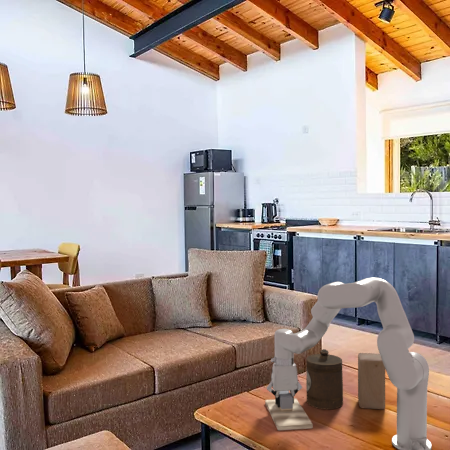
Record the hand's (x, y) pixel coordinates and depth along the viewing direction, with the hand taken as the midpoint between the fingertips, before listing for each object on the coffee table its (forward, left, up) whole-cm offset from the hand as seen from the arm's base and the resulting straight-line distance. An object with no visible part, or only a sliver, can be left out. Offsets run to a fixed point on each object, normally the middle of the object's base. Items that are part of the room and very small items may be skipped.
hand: (284, 405), depth 199 cm
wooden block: (0, -36, -2) cm, 36 cm away
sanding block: (0, 0, 0) cm, 0 cm away
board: (-5, 0, -2) cm, 5 cm away
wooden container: (+5, -18, -2) cm, 19 cm away
